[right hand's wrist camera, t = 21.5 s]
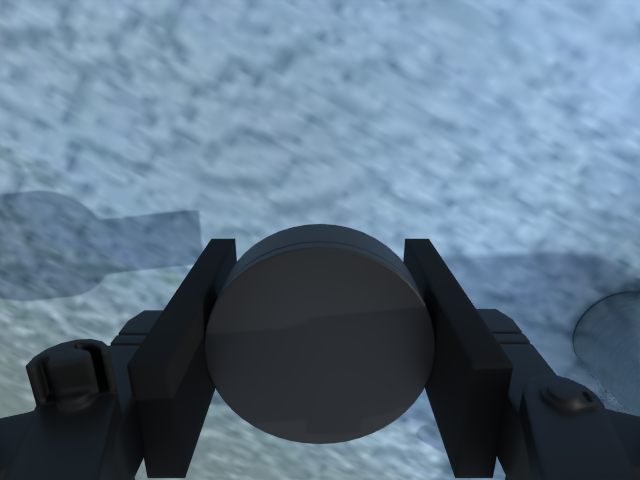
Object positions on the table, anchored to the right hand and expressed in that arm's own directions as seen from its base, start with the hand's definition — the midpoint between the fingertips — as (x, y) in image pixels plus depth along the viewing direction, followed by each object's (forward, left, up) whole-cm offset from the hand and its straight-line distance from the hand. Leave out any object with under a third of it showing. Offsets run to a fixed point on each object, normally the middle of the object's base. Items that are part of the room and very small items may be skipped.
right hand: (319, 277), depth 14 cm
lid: (0, 0, +4) cm, 4 cm away
